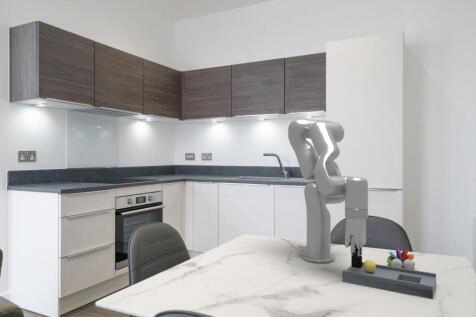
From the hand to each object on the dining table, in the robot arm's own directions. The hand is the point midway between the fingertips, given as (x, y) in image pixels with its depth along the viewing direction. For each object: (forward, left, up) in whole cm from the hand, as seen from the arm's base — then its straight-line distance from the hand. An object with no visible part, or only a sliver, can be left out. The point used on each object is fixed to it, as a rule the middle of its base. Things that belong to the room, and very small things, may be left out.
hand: (356, 267), depth 118 cm
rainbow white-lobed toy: (+11, +20, -4) cm, 23 cm away
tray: (+10, 0, -3) cm, 11 cm away
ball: (+4, 0, +1) cm, 4 cm away
